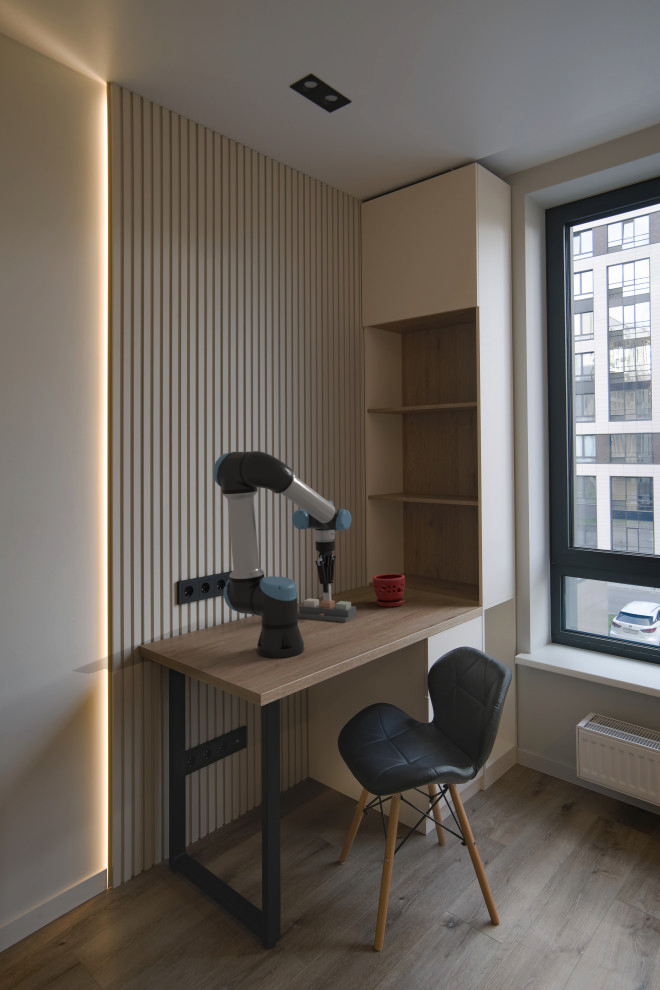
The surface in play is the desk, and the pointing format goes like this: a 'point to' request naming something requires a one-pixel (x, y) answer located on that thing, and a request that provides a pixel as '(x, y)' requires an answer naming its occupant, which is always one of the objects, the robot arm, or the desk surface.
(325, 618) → the key console
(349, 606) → the sage key
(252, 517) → the robot arm
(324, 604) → the terracotta key
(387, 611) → the desk surface
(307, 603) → the ivory key
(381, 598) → the plant pot
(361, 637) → the desk surface
